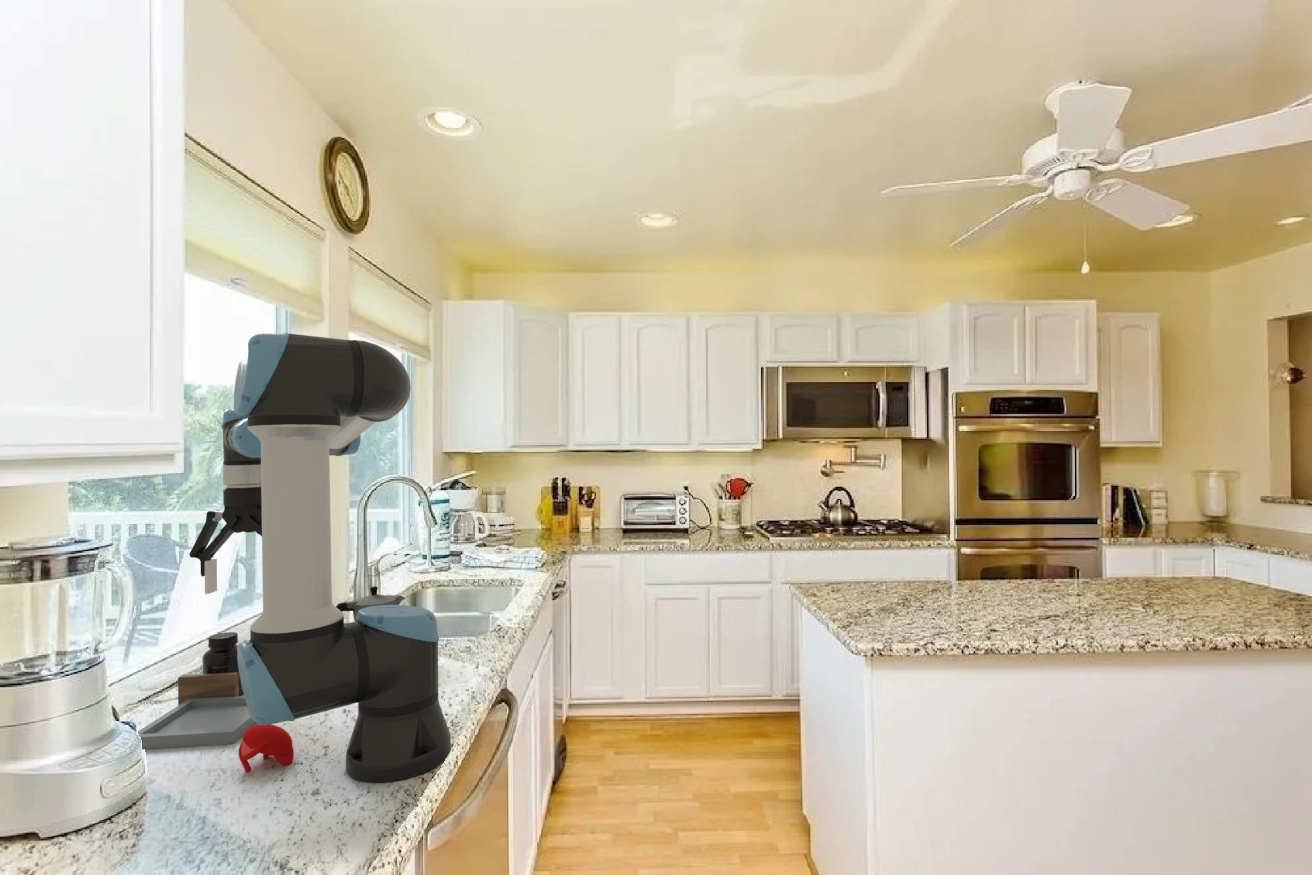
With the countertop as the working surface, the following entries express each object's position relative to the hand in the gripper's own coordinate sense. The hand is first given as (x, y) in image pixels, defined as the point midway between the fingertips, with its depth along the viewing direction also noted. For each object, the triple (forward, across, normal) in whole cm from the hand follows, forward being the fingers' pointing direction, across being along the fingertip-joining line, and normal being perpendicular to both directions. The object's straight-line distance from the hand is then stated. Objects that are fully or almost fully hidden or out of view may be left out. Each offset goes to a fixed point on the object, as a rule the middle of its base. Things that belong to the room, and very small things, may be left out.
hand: (246, 591), depth 128 cm
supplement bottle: (+20, +3, +3) cm, 21 cm away
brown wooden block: (+20, +3, +3) cm, 20 cm away
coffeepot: (+20, -21, -9) cm, 30 cm away
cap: (+20, -20, +32) cm, 43 cm away
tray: (+20, -2, +16) cm, 26 cm away
